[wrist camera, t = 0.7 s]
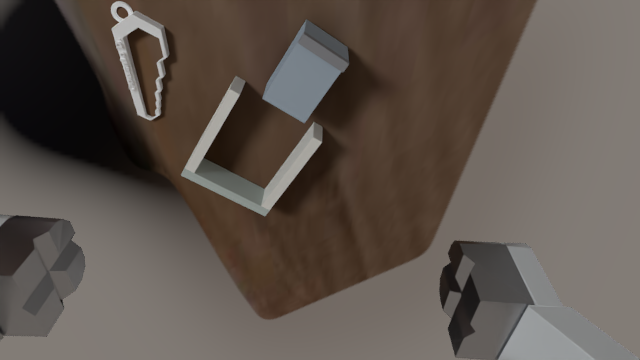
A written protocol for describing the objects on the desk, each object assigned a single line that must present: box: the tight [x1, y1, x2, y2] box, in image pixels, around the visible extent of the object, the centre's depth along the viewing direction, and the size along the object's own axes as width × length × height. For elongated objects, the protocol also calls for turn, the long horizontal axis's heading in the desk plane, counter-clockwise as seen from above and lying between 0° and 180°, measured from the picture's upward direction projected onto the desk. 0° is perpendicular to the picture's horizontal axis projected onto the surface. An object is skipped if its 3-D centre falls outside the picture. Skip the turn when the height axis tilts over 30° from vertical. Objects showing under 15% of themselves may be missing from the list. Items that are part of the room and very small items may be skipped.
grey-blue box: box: [262, 19, 349, 123], centre depth 42 cm, size 8×5×6 cm, turn 147°
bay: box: [181, 76, 323, 216], centre depth 49 cm, size 13×11×4 cm
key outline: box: [111, 1, 169, 120], centre depth 45 cm, size 13×5×2 cm, turn 179°
